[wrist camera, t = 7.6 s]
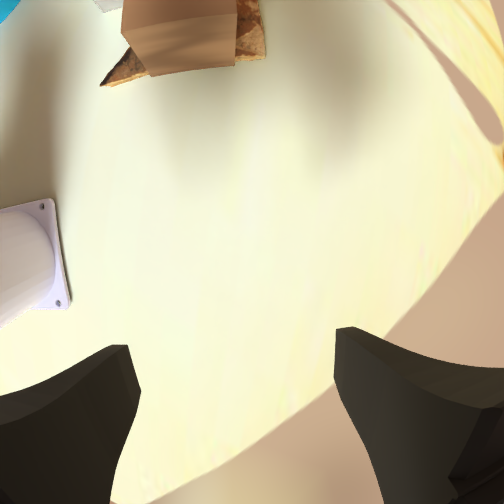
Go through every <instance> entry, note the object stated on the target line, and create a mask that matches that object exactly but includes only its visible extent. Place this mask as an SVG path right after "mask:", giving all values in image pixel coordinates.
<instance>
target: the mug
mask: <svg viewBox="0 0 504 504" xmlns="http://www.w3.org/2000/svg"><path fill="white" fill-rule="evenodd" d="M19 1H20V0H0V23H1V22H2V21H4V20H5V19H6V17H7V16H8V15H9V14H10V13H11V12H12V11H13V10H14V8H15V7H16V6H17V4H18V3H19Z"/></svg>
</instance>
